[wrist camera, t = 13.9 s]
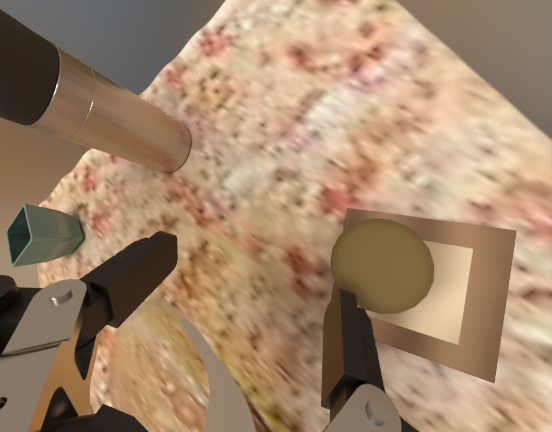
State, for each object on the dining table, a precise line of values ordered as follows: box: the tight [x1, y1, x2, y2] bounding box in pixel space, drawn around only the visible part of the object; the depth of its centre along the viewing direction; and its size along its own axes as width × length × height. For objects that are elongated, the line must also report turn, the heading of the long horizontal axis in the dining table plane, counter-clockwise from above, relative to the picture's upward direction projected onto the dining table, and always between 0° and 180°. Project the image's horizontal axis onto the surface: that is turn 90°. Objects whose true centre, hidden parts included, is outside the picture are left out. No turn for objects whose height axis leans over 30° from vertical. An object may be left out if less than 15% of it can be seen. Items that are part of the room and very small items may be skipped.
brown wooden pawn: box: [331, 218, 434, 314], centre depth 16 cm, size 6×6×11 cm
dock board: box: [331, 208, 516, 383], centre depth 21 cm, size 13×12×3 cm
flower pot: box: [6, 204, 83, 267], centre depth 45 cm, size 9×9×9 cm
